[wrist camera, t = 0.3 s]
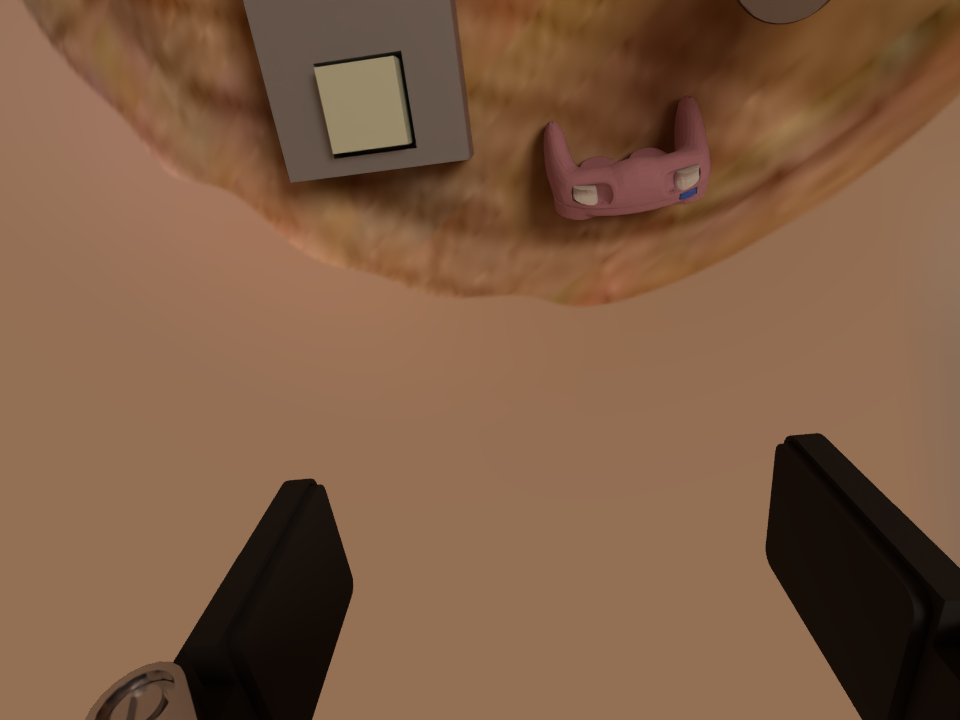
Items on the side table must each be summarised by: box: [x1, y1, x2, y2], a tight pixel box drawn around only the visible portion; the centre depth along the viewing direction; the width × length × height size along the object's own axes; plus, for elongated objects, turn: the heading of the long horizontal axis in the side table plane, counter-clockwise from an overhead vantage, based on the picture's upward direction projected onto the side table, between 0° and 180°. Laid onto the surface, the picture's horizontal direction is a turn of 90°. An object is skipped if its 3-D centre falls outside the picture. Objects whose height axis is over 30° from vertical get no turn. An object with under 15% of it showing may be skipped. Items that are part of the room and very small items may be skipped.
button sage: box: [314, 56, 416, 154], centre depth 31 cm, size 4×4×3 cm
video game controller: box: [543, 96, 711, 220], centre depth 33 cm, size 10×5×7 cm, turn 100°
